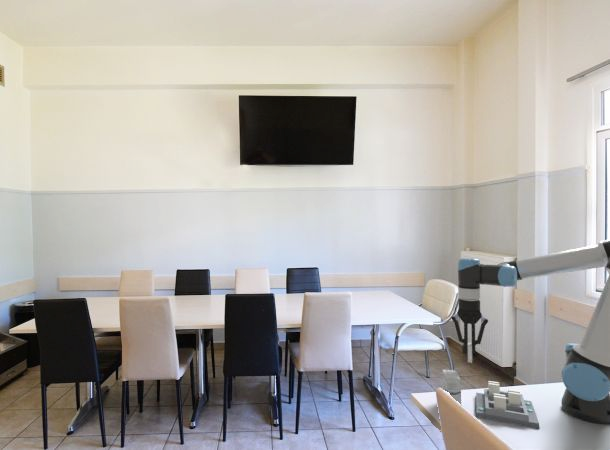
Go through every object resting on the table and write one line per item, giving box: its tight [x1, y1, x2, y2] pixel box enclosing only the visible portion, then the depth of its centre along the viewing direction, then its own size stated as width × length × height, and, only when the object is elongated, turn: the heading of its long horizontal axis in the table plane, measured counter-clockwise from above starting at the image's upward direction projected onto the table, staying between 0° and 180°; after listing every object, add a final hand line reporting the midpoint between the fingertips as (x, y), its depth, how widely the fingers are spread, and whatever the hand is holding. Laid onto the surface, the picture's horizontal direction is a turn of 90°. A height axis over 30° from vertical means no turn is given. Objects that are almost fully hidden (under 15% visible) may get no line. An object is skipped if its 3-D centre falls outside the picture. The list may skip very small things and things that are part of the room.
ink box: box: [442, 369, 462, 405], centre depth 129 cm, size 8×5×12 cm, turn 168°
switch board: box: [475, 388, 540, 429], centre depth 125 cm, size 18×17×4 cm
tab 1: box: [488, 380, 501, 395], centre depth 132 cm, size 4×3×6 cm
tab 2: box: [494, 393, 506, 410], centre depth 121 cm, size 4×3×6 cm
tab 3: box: [507, 389, 521, 406], centre depth 124 cm, size 4×3×6 cm
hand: (470, 361), depth 135 cm, fingers closed
